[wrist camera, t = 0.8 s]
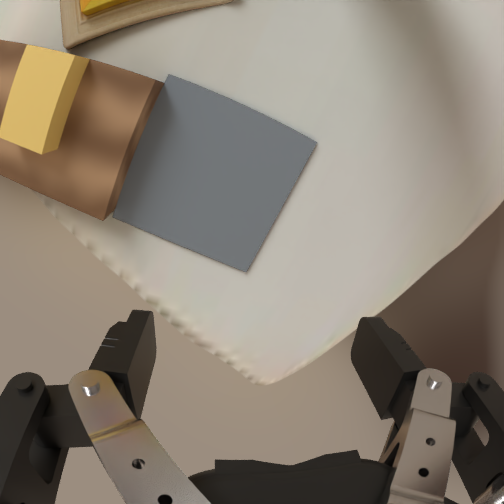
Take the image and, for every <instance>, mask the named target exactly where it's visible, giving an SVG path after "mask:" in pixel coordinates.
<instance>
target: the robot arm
mask: <svg viewBox="0 0 504 504" xmlns="http://www.w3.org/2000/svg"><path fill="white" fill-rule="evenodd" d="M155 359H156V338H155V327H154V317H153V312H152V311H143V310H132V312H131V314H130V316H129V318H128V320H127V322H117V323H116V324H115V325H114V326H112V327H111V328H110V329H109V331H108V333H107V335H106V336H105V339H104V340H103V342H102V345H101V346H100V348H99V350H98V352H97V354H96V356H95V358H94V359H93V361H92V363H91V366H90V367H89V370H86V371H82V372H80V373H78V374H76V375H75V376H74V377H72V379H71V380H70V382H69V384H66V385H50V386H49V385H48V386H46V385H45V383H44V381H43V379H42V377H41V376H39V375H38V374H35V373H31V372H26V373H21V374H18V375H16V376H14V377H13V378H12V379H11V380H10V381H9V382H8V384H7V386H6V387H5V389H4V391H3V392H2V394H1V396H0V504H55V499H56V495H57V491H58V487H59V483H60V479H61V475H62V471H63V467H64V464H65V461H66V457H67V454H68V450H69V448H70V447H90V446H93V447H94V449H95V451H96V453H97V455H98V457H99V459H100V461H101V463H102V464H103V466H104V468H105V470H106V472H107V473H108V475H109V477H110V479H111V480H112V482H113V484H114V485H115V487H116V489H117V490H118V492H119V494H120V495H121V497H122V499H123V500H124V502H125V503H126V504H458V503H456V502H454V501H452V500H450V499H448V498H446V497H445V492H446V487H447V482H448V477H449V472H450V466H451V460H452V461H453V463H454V465H455V467H456V469H457V471H458V473H459V475H460V477H461V479H462V481H463V483H464V486H465V488H466V490H467V492H468V494H469V496H470V498H471V500H472V503H473V504H504V391H503V390H502V389H501V388H500V387H499V385H498V384H497V383H496V381H495V380H494V379H493V378H492V377H490V376H489V375H487V374H484V373H481V372H474V373H472V374H470V376H469V378H468V379H467V381H466V383H452V382H451V380H450V378H449V377H448V376H447V375H446V374H445V373H443V372H441V371H439V370H436V369H427V368H426V367H425V365H424V364H423V363H422V361H420V359H419V358H418V356H417V355H416V354H415V352H414V351H413V350H411V347H410V346H409V345H408V344H406V341H405V340H404V339H403V337H402V336H401V335H400V334H398V333H397V332H396V331H394V330H393V329H391V328H389V327H388V326H387V325H386V324H385V322H384V321H383V319H382V318H381V317H362V318H361V319H360V321H359V324H358V328H357V331H356V335H355V338H354V342H353V345H352V349H351V360H352V363H353V366H354V367H355V369H356V371H357V373H358V375H359V377H360V379H361V381H362V383H363V385H364V387H365V389H366V390H367V392H368V395H369V397H370V398H371V401H372V402H373V404H374V406H375V408H376V410H377V412H378V414H379V416H380V418H381V420H383V419H388V418H393V419H394V422H393V424H392V426H391V429H390V431H389V434H388V437H387V440H386V443H385V446H384V448H383V451H382V453H381V456H380V459H379V461H373V460H368V459H360V456H359V453H358V451H357V450H352V451H347V452H340V453H333V454H326V455H322V456H320V457H317V458H314V459H311V460H308V461H305V462H302V463H299V464H295V465H281V464H274V463H268V462H261V461H255V460H215V469H212V470H208V471H204V472H200V473H197V474H194V475H192V476H190V477H186V475H185V474H184V473H183V472H182V470H181V469H180V468H179V467H178V466H177V464H176V463H175V462H174V461H173V459H172V458H171V457H170V456H169V455H168V453H167V452H166V451H165V449H164V448H163V447H162V445H161V444H160V443H159V441H158V440H157V439H156V437H155V436H154V435H153V433H152V432H151V431H150V429H149V428H148V426H147V425H146V424H145V422H144V421H143V420H142V419H140V418H141V414H142V410H143V406H144V402H145V398H146V394H147V390H148V386H149V382H150V378H151V375H152V371H153V367H154V363H155ZM479 419H480V420H481V421H482V423H483V424H484V426H485V427H486V429H487V430H488V433H489V441H488V443H487V445H486V446H484V445H483V443H482V442H481V440H480V438H479V437H478V435H477V433H476V431H475V430H474V428H473V427H474V426H475V424H476V423H477V421H478V420H479Z"/></svg>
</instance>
